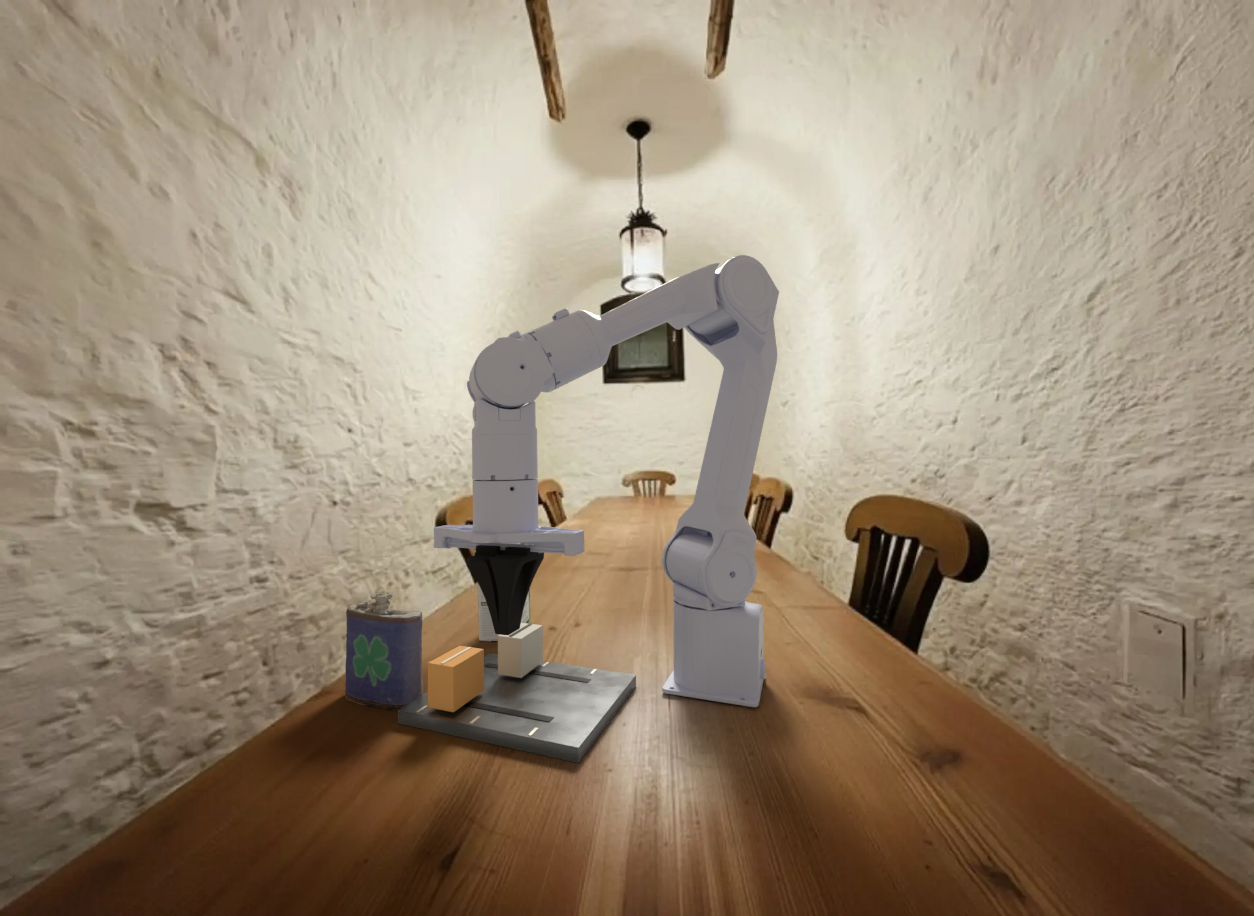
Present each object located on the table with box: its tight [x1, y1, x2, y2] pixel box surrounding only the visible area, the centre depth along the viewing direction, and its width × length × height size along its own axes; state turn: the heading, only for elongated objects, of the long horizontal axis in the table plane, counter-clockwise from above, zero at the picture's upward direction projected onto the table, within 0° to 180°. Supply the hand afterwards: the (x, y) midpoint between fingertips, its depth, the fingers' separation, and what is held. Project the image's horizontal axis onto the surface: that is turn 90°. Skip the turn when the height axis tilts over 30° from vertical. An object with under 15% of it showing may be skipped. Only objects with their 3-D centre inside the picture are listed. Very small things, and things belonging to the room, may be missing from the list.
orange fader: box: [427, 645, 485, 712], centre depth 46 cm, size 3×4×4 cm, turn 160°
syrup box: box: [477, 543, 532, 642], centre depth 68 cm, size 6×6×14 cm
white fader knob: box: [497, 622, 544, 678], centre depth 53 cm, size 3×4×4 cm, turn 160°
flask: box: [344, 591, 424, 712], centre depth 49 cm, size 9×3×11 cm, turn 68°
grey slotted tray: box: [397, 653, 637, 764], centre depth 48 cm, size 18×14×1 cm
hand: (507, 631), depth 45 cm, fingers closed
